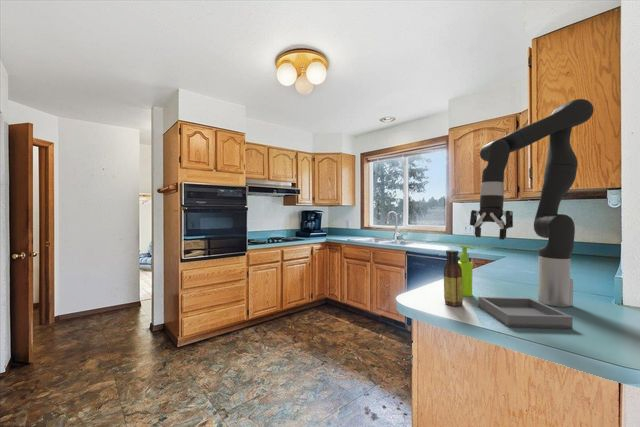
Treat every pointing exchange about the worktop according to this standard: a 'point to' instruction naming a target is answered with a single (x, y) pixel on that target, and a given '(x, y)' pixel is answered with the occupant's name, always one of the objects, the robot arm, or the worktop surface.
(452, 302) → the sauce bottle
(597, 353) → the worktop surface
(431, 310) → the worktop surface
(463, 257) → the soap dispenser
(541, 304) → the charcoal tray
